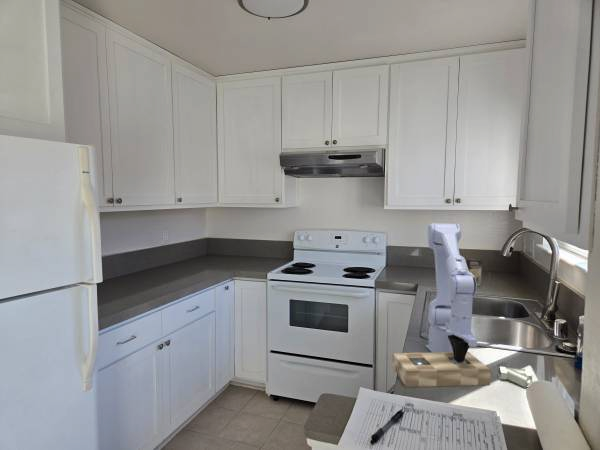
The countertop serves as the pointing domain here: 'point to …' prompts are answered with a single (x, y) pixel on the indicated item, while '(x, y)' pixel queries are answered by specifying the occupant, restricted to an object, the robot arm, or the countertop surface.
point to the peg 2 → (458, 362)
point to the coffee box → (475, 268)
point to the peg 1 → (419, 362)
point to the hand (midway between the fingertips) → (459, 361)
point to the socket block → (439, 370)
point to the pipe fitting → (515, 375)
